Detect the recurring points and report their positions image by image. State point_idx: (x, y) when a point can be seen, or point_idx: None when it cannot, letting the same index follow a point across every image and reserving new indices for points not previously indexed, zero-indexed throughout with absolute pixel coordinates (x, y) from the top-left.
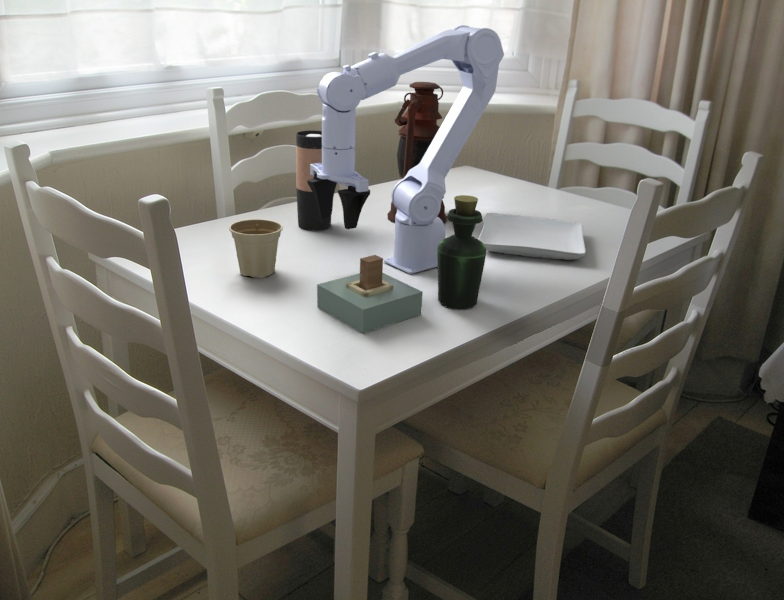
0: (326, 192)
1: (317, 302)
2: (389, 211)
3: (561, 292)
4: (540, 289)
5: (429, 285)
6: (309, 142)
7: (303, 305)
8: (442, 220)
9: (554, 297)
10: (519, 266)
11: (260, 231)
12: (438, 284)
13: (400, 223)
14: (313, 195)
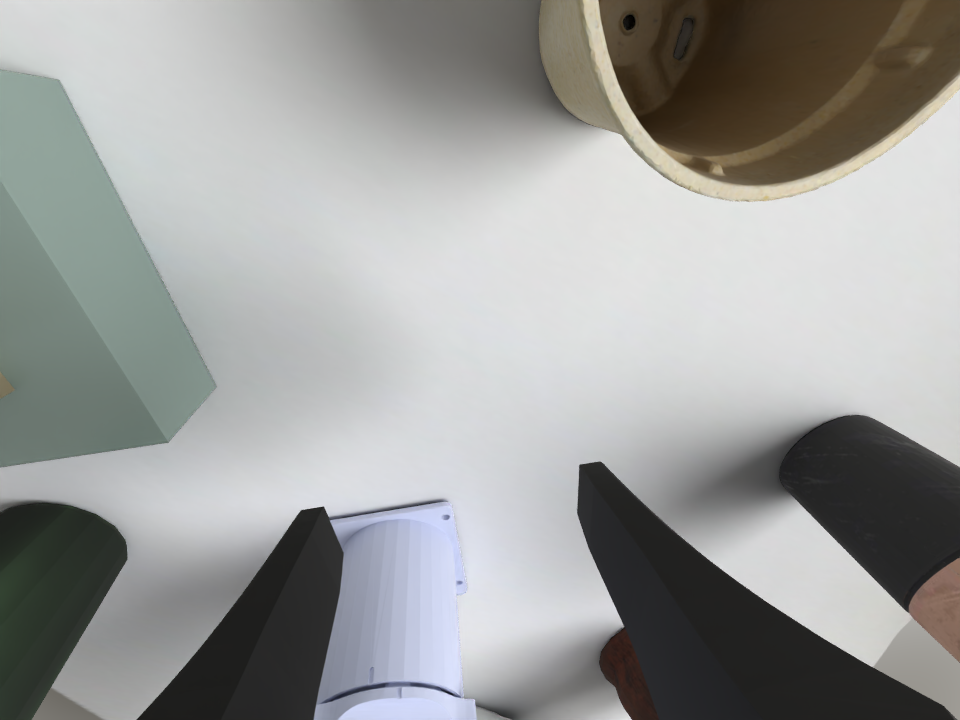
0: (673, 682)
1: (35, 76)
2: None
3: (108, 704)
4: (135, 685)
5: (223, 529)
6: None
7: (94, 17)
8: (606, 677)
9: (77, 690)
10: None
11: (840, 81)
12: (7, 556)
13: (367, 684)
14: (935, 544)
